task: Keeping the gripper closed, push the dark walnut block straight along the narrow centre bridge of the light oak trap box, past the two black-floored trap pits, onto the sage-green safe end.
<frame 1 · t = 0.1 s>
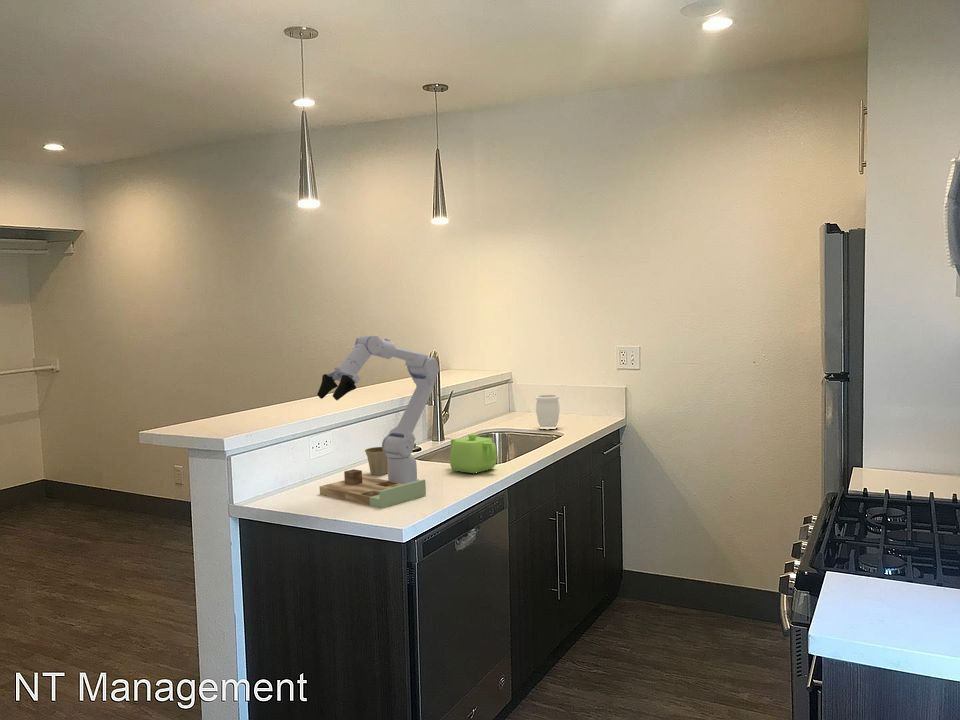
hand: (327, 397, 248), 32 cm above the countertop, tool tilted 50°, fingers open, 7 cm apart
jar: (548, 429, 367), on the countertop
teapot: (477, 470, 287), on the countertop
trap box: (372, 494, 255), on the countertop
walnut block: (353, 483, 261), point 2 cm above the countertop, touching trap box
flower pot: (379, 474, 286), on the countertop
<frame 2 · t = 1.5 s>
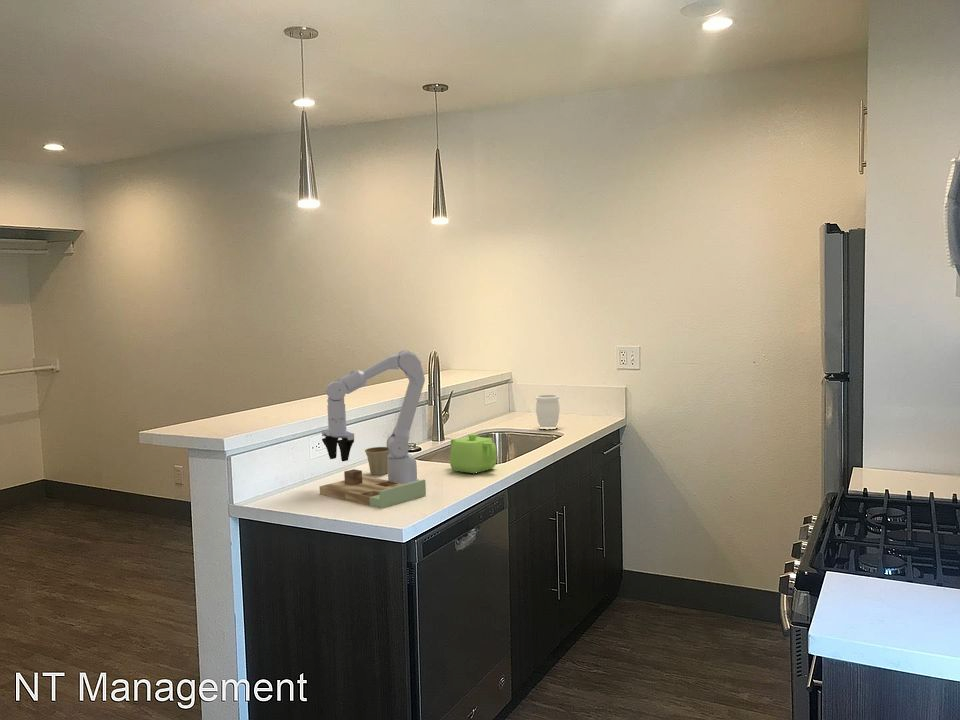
hand: (338, 459, 265), 9 cm above the countertop, tool pointing down, fingers open, 6 cm apart
nothing on the countertop moved.
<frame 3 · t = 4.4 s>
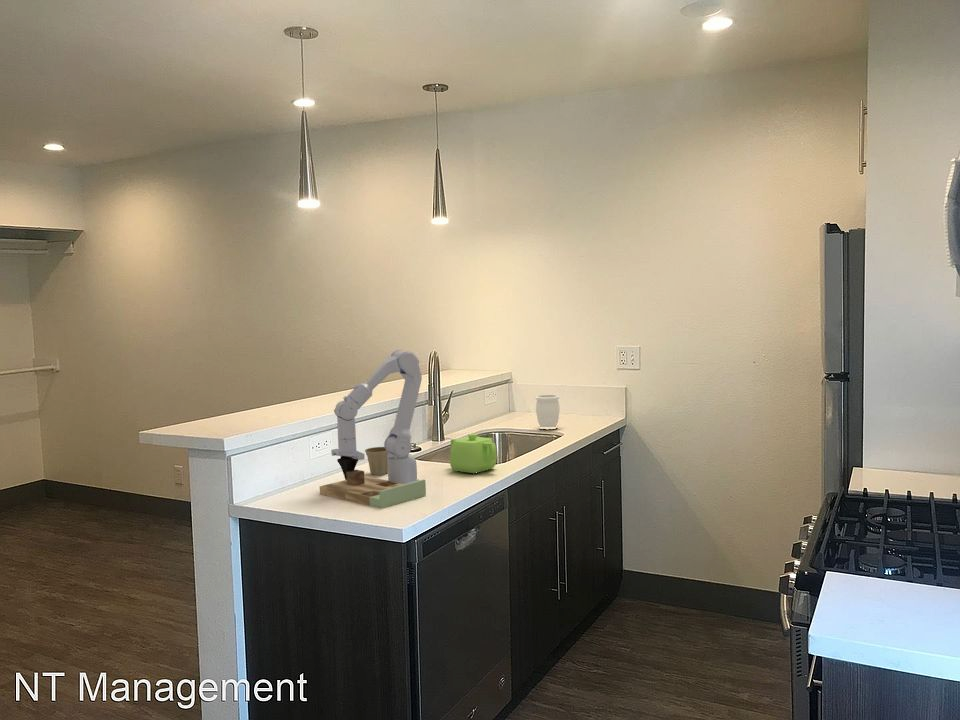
hand: (348, 479, 263), 3 cm above the countertop, tool pointing down, fingers closed
walnut block: (355, 483, 261), point 3 cm above the countertop, touching gripper
everything else where it was.
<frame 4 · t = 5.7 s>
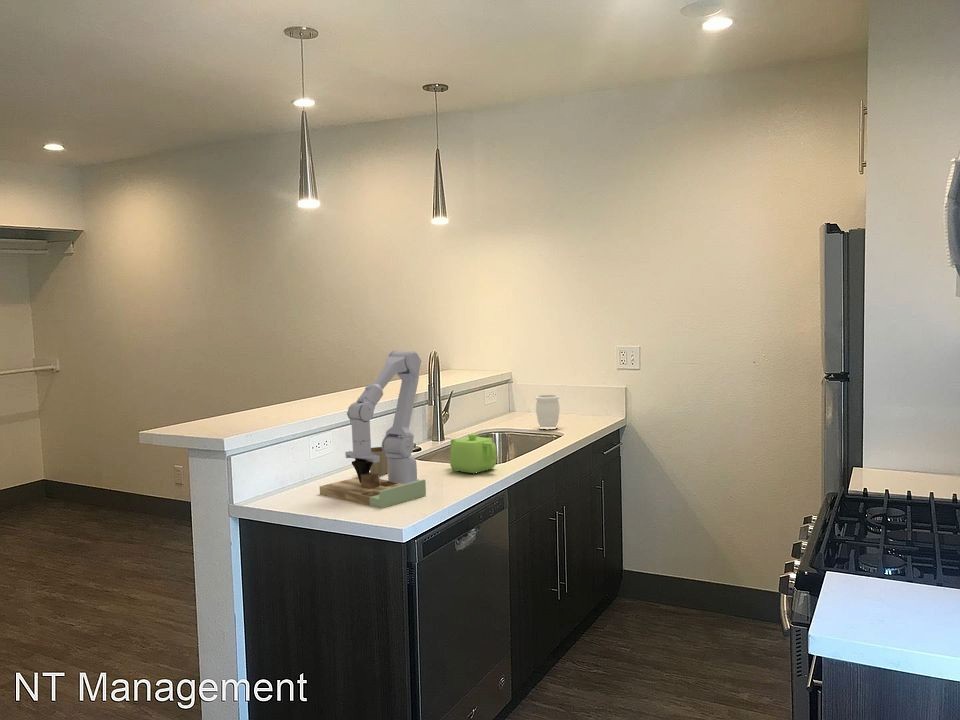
hand: (363, 482, 258), 3 cm above the countertop, tool pointing down, fingers closed
walnut block: (370, 486, 256), point 3 cm above the countertop, touching gripper, trap box
everything else where it was.
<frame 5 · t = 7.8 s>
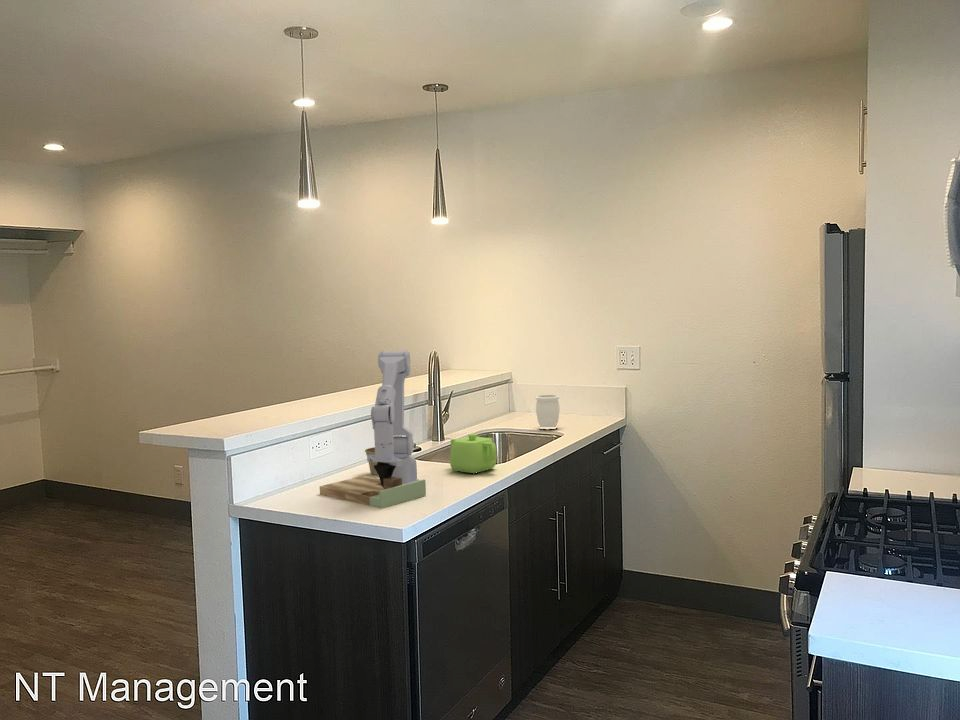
hand: (385, 486, 251), 3 cm above the countertop, tool pointing down, fingers closed
walnut block: (392, 491, 248), point 3 cm above the countertop, touching gripper, trap box
everything else where it was.
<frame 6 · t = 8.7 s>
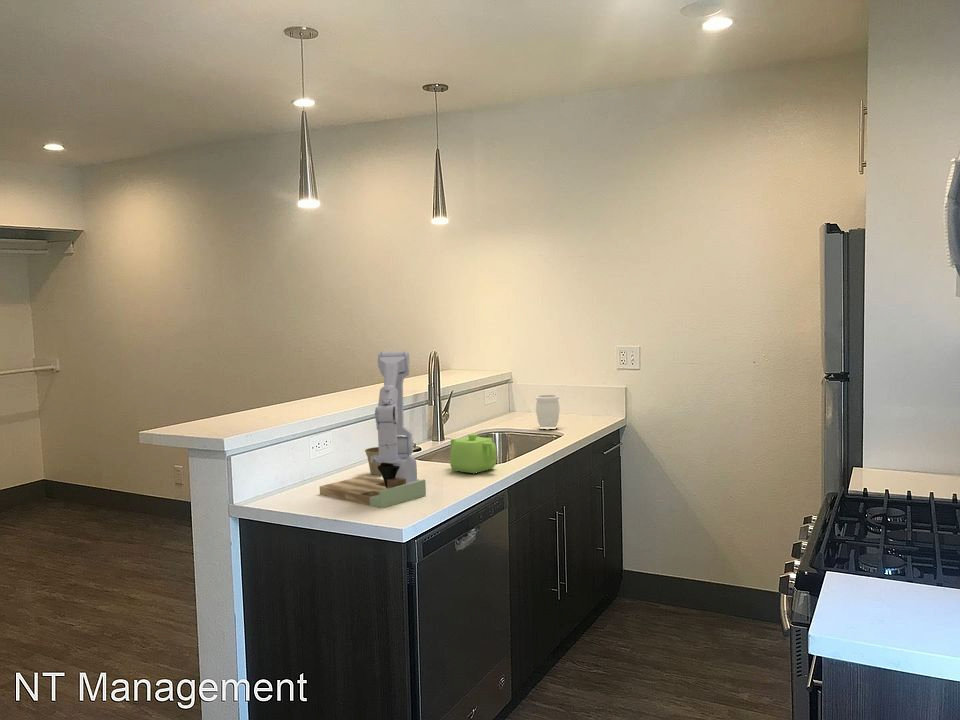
hand: (389, 487, 250), 3 cm above the countertop, tool pointing down, fingers closed
walnut block: (396, 492, 247), point 3 cm above the countertop, touching gripper, trap box
everything else where it was.
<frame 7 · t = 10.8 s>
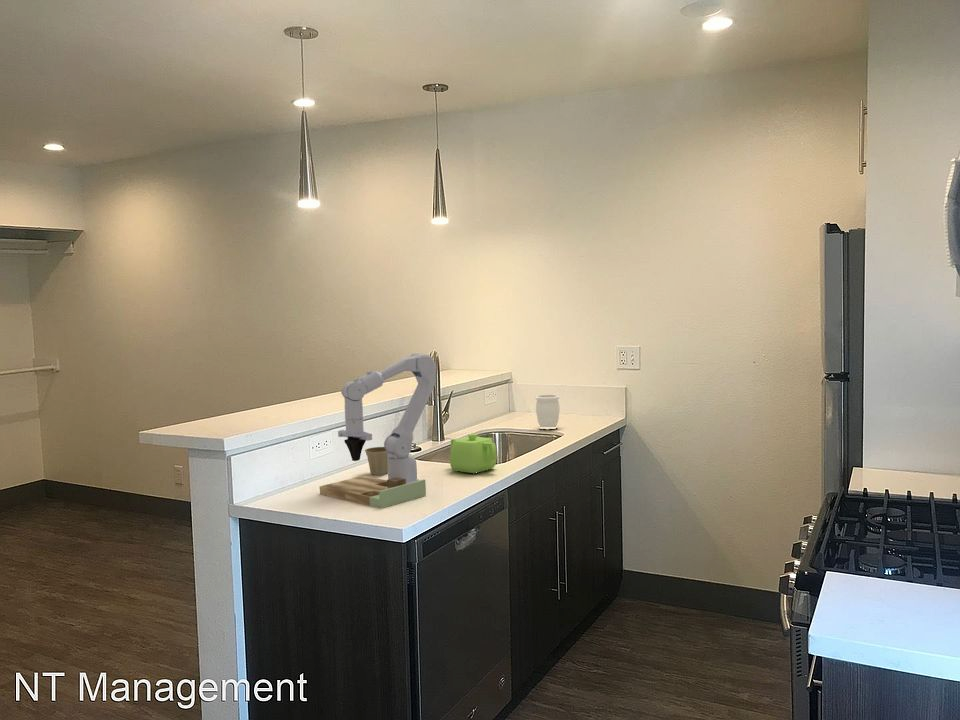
hand: (356, 460, 263), 9 cm above the countertop, tool pointing down, fingers closed
walnut block: (397, 492, 247), point 2 cm above the countertop, touching trap box
everything else where it was.
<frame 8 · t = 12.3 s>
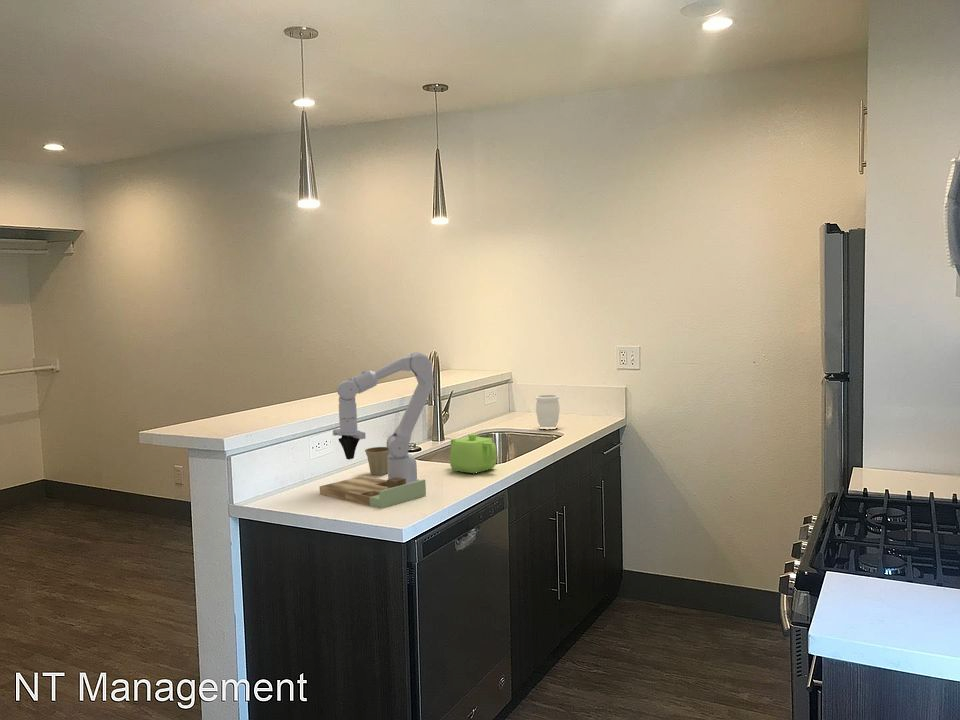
hand: (350, 458, 266), 9 cm above the countertop, tool pointing down, fingers closed
nothing on the countertop moved.
at the end: walnut block 0.9 cm from the target spot on the trap box, point 2.5 cm above the trap box's base; walnut block tilted 0° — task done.
